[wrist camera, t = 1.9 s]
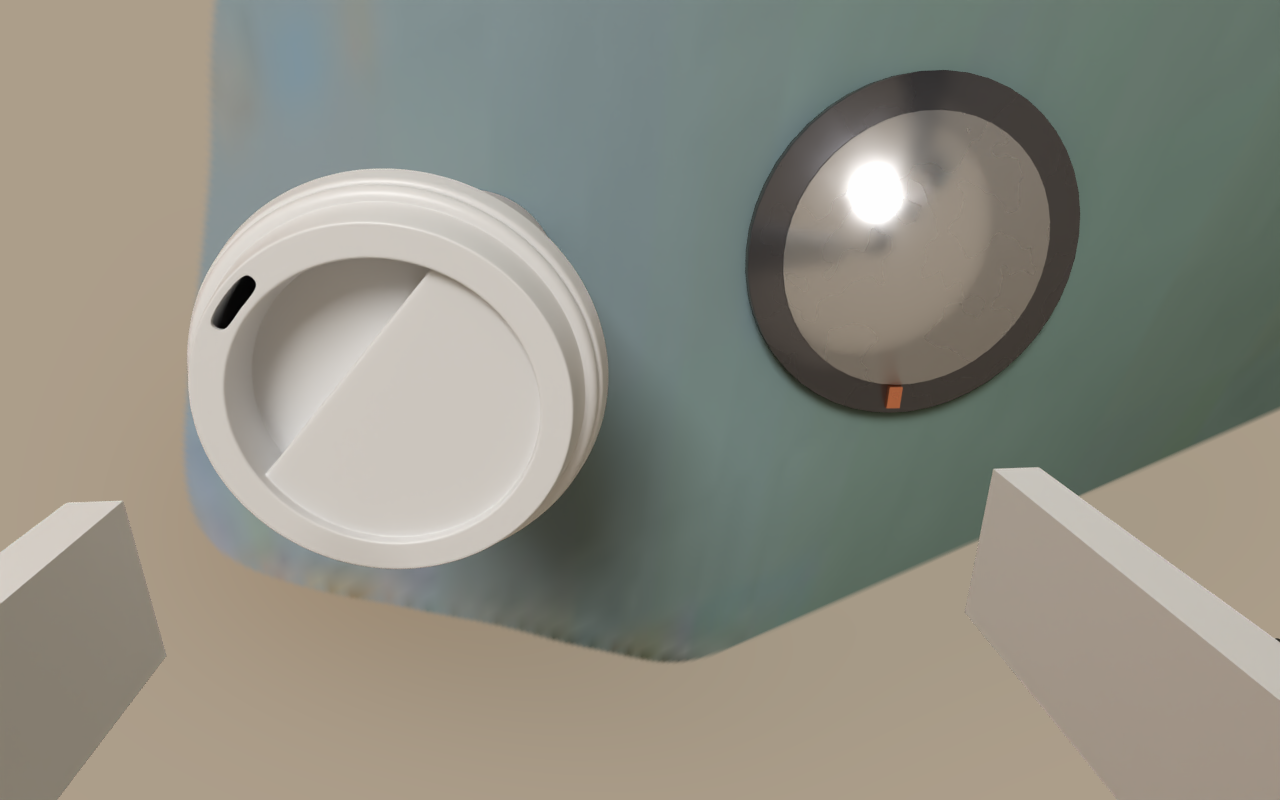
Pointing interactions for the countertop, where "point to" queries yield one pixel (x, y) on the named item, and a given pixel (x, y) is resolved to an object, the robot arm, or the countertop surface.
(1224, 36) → the countertop surface
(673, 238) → the countertop surface
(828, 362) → the plate
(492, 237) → the coffee cup
